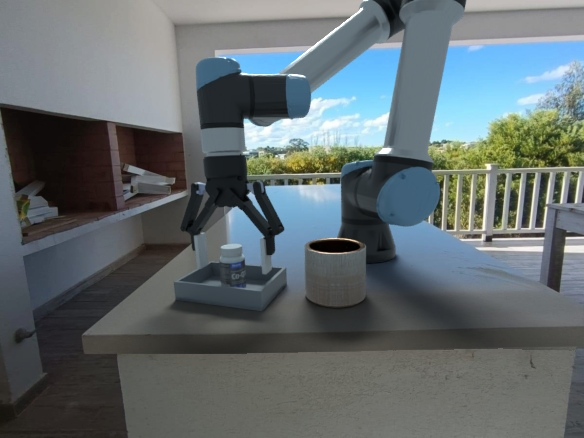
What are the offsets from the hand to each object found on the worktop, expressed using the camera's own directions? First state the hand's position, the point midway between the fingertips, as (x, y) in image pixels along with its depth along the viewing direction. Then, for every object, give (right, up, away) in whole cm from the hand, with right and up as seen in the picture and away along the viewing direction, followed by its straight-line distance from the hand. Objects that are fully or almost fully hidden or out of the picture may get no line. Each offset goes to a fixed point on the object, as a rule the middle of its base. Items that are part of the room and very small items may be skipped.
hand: (233, 269), depth 63 cm
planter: (+19, -5, -3) cm, 20 cm away
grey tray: (0, -4, +1) cm, 4 cm away
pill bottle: (0, -4, +1) cm, 4 cm away
